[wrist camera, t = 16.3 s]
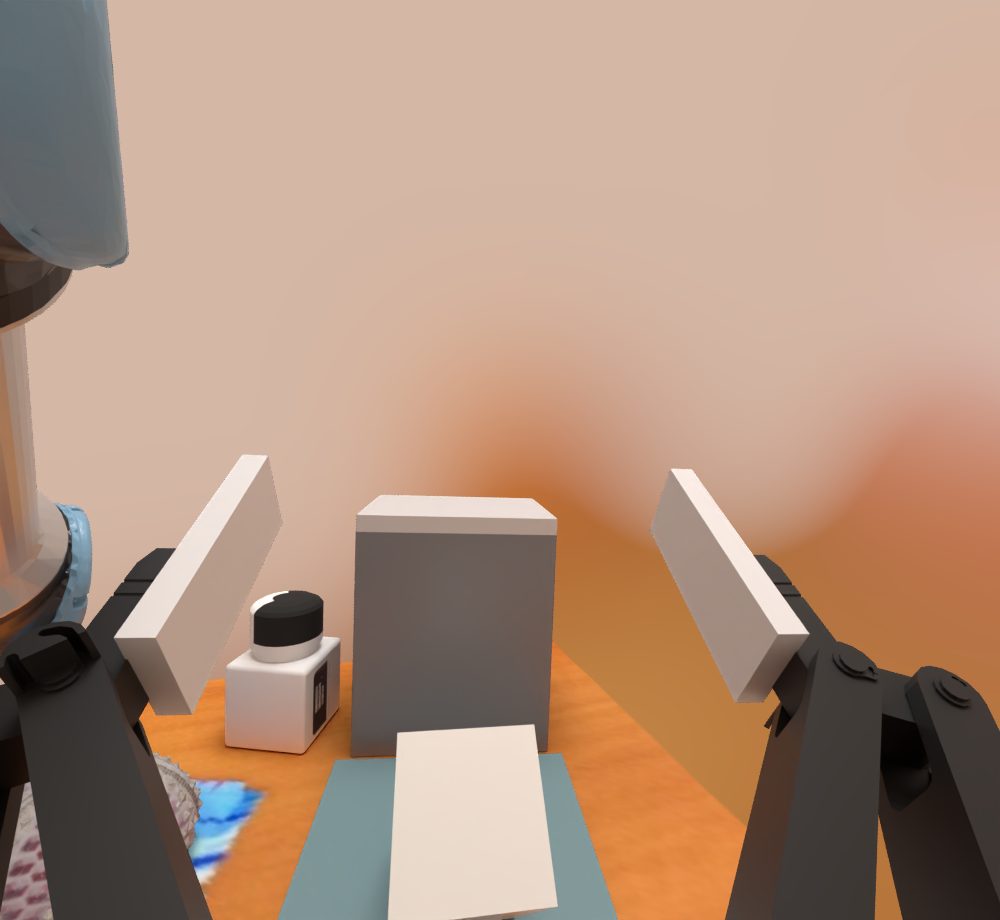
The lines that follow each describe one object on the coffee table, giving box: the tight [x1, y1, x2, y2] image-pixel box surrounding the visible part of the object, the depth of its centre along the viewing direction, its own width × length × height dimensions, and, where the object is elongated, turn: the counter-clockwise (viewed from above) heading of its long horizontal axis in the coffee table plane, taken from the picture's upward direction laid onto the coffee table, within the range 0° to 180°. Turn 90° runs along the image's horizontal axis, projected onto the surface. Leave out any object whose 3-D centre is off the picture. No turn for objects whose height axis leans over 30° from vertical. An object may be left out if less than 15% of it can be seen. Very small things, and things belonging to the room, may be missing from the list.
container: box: [225, 591, 340, 754], centre depth 47 cm, size 8×8×13 cm
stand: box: [351, 495, 557, 757], centre depth 51 cm, size 14×18×22 cm
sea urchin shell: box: [0, 753, 203, 920], centre depth 30 cm, size 13×14×8 cm
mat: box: [278, 753, 618, 920], centre depth 33 cm, size 20×20×1 cm
